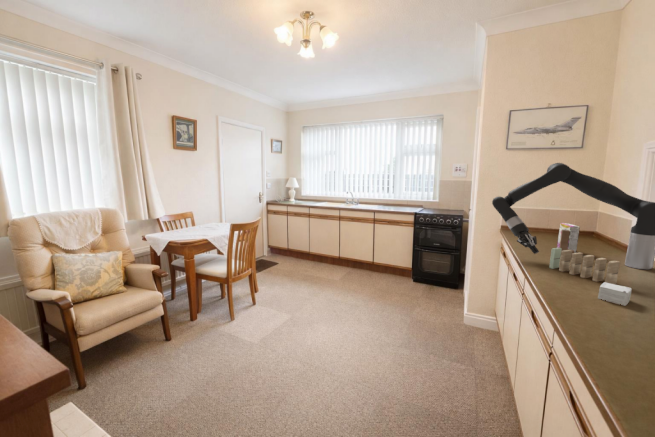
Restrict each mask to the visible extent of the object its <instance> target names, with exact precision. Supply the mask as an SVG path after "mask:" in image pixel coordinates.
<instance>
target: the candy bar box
mask: <svg viewBox="0 0 655 437" xmlns="http://www.w3.org/2000/svg"><path fill="white" fill-rule="evenodd" d="M580 228H581V226H578V225H575V224H572V223H568V222H567V223H565V222H560V223H559V228H558V229H559V230H558V236H557V244H556V248H559V246H560V238H561V231H562V230H569V231H570V234H569V241H568V249H569V250H574V253H577V251H578V250H577V249H578V243H579V236H580V235H579V234H580Z"/></svg>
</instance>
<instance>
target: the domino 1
mask: <svg viewBox="0 0 655 437" xmlns="http://www.w3.org/2000/svg"><path fill="white" fill-rule="evenodd" d="M561 250H562V248H557V247H553V248H551V251H550V259H549V266H548V268H549V269H552V270H553V269H558V268H559V267H560V260H561Z"/></svg>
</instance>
